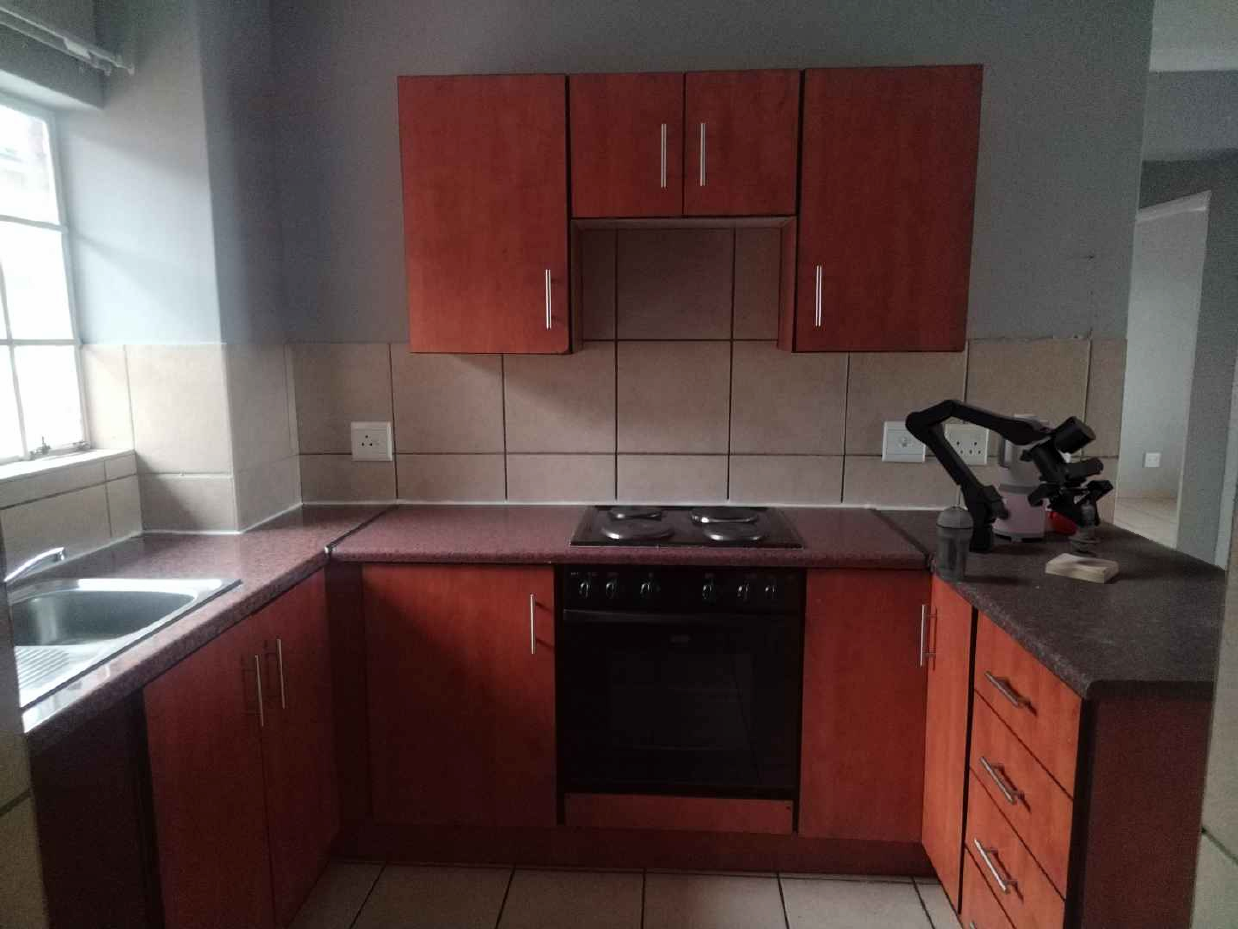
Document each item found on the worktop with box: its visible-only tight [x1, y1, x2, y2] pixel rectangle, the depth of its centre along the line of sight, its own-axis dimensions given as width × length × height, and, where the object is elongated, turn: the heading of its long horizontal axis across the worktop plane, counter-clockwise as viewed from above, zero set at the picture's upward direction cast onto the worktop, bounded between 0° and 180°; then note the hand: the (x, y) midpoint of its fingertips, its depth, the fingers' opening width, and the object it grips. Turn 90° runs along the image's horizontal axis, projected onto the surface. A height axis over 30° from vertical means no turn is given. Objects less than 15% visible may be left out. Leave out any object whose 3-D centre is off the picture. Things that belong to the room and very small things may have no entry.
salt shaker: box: [1067, 500, 1101, 558], centre depth 159 cm, size 6×6×12 cm
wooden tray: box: [1044, 552, 1119, 584], centre depth 162 cm, size 11×11×2 cm
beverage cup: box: [936, 485, 974, 582], centre depth 158 cm, size 7×7×20 cm
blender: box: [991, 413, 1051, 543], centre depth 191 cm, size 16×12×32 cm
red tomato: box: [1047, 510, 1077, 536], centre depth 199 cm, size 10×10×9 cm
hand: (1091, 525), depth 158 cm, fingers closed on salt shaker, 3 cm apart
